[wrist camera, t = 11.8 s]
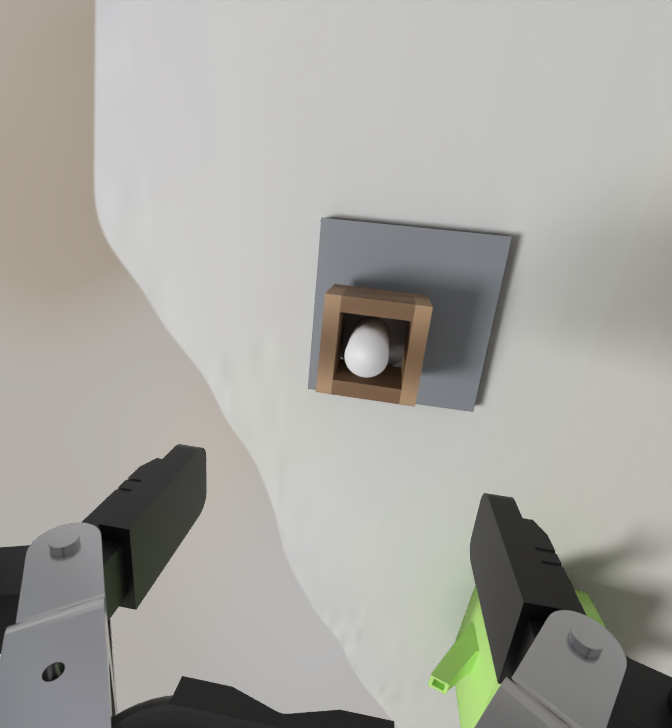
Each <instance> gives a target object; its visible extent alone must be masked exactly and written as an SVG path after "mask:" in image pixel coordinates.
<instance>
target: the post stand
mask: <svg viewBox="0 0 672 728" xmlns="http://www.w3.org/2000/svg"><path fill="white" fill-rule="evenodd" d="M511 239H512V237H510V236H500V235H490V234H480V233H470V232H460V231H450V230H440V229H430V228H420V227H410V226H400V225H390V224H380V223H370V222H360V221H350V220H340V219H330V218H321V230H320V243H319V255H318V268H317V281H316V293H315V306H314V319H313V331H312V344H311V357H310V369H309V382H308V389H313V390H316V384H317V373H318V362H319V352H320V341H321V330H322V320H323V309H324V299H325V293H326V292H327V291H328V290H329V289H330V288H331V287H332V286H333V285H334V284H341V285H349V286H357V287H365V288H373V289H381V290H389V291H397V292H406V293H414V294H422V295H427V296H428V298H429V300H430V302H431V304H432V306H433V309H432V315H431V320H430V326H429V331H428V337H427V342H426V348H425V354H424V359H423V365H422V370H421V376H420V381H419V387H418V392H417V398H416V404H420V405H428V406H435V407H442V408H449V409H456V410H463V411H470V412H473V410H474V406H475V401H476V397H477V392H478V388H479V383H480V379H481V374H482V370H483V365H484V361H485V356H486V352H487V347H488V343H489V338H490V334H491V329H492V325H493V320H494V316H495V311H496V306H497V302H498V297H499V293H500V288H501V284H502V279H503V275H504V270H505V266H506V261H507V257H508V252H509V248H510V243H511ZM407 325H408V321H406V320H398V319H390V318H382V317H375V316H367V315H359V314H352V313H346V317H345V326H344V335H343V344H342V353H341V359H344V360H345V362H346V365H347V367H348V368H349V370H350V371H351V372H353V373H354V374H356V375H358V376H360V377H366V378H367V377H373V376H376V375H378V374H380V373H381V372H382V371H383V370H384V369H385V367H386V366H395V367H401V362H402V356H403V350H404V344H405V337H406V331H407Z"/></svg>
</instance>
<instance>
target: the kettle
mask: <svg viewBox="0 0 672 728" xmlns="http://www.w3.org/2000/svg"><path fill="white" fill-rule="evenodd" d="M574 591H575V593H576V595H577V597H578V599H579V601H580V603H581V605H582V607H583V609H584V611H585V613H586V615H587V616H588V617H590V618H591V619H593V620H595V621H596V622H598V623H599V624H601V625H602V626H603V627H604V628H606V627H605V625H604V623H603V621H602V619H601V617H600V616H599V614H598V612H597V610H596V608H595V606H594V604H593V602H592V600H591V598H590V596H589V595H588V593H587V592H583V591H578V590H574ZM428 685H429V686H430V687H432V688H434V689H436V690H438V691H440V692H442V693H443V694H445V695H446V693H447V691H448V690H449V689H450V688H452V687H453V686H454V685H455V687H456V694H457V702H458V709H459V717H460V725H461V728H474V727H475V726H476V724H477V722H478V721H479V719H480V718H481V716H482V714H483V713H484V711H485V709H486V708H487V706H488V705H489V703H490V701H491V700H492V698H493V696H494V695H495V693H496V692H497V690H498V688H499V687H500V685H501V684H498V682H497V678H496V673H495V669H494V664H493V660H492V655H491V651H490V646H489V642H488V637H487V633H486V628H485V624H484V619H483V615H482V610H481V606H480V602H479V597H478V593H477V588H476V586H475V588H474V591H473V594H472V597H471V600H470V602H469V605H468V608H467V611H466V613H465V616H464V619H463V622H462V625H461V627H460V630H459V633H458V636H457V639H456V641H455V643H454V645H453V646H452V647H451V649H450V650H449V651H448V652H447V654H446V655H445V656H444V658H443V659H442V660H441V662H440V663H439V664H438V665H437V667H436V668H435V669H434V671H433V672H432V674H431V677H430V680H429V683H428Z"/></svg>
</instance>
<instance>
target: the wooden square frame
mask: <svg viewBox="0 0 672 728" xmlns="http://www.w3.org/2000/svg"><path fill="white" fill-rule="evenodd" d="M432 309H433V306H432V304H431V302H430V300H429V298H428V296H427V295H422V294H414V293H406V292H397V291H389V290H381V289H373V288H365V287H357V286H349V285H341V284H334V285H333V286H332V287H331V288H330V289H329V290H328V291H327V292H326V293H325V299H324V309H323V320H322V330H321V341H320V352H319V362H318V373H317V384H316V392H320V393H327V394H334V395H340V396H347V397H354V398H361V399H368V400H374V401H381V402H388V403H395V404H401V405H408V406H415V404H416V398H417V392H418V387H419V381H420V376H421V370H422V365H423V359H424V354H425V348H426V342H427V337H428V331H429V326H430V320H431V315H432ZM346 313H352V314H359V315H367V316H375V317H382V318H390V319H398V320H406V321H408V325H407V331H406V337H405V344H404V350H403V356H402V362H401V367H395V366H386V367H385V369H384V370H383V371H382V372H381V373H380V374H378V375H376V376H373V377H367V378H366V377H360V376H358V375H356V374H354V373H353V372H351V371H350V370H349V368H348V367H347V365H346V362H345V360H344V359H341V353H342V344H343V335H344V326H345V317H346Z"/></svg>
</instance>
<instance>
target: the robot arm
mask: <svg viewBox="0 0 672 728" xmlns="http://www.w3.org/2000/svg"><path fill="white" fill-rule="evenodd" d="M205 499H206V452H205V449H204V448H200V447H194V446H188V445H181V444H178V445H176V446H175V447H174V448H173V449H172V450H171V451H170V452H169V453H168V454H167V455H166V456H165V457H164V458H163V459H159V458H156V459H154V460H152V461H150V462H148V463H146V464H145V465H142V466H140V467H139V468H138V469H137V470H136V471H135V472H134V473H133V474H132V475H131V476H130V477H129V478H128V480H125V481H124V482H123V483H122V484H121V485H120V486H119V487H118V490H115V491H114V492H113V493H112V494H111V495H110V496H109V497H107V498H106V499H105V500H104V501H103V502H102V503H101V504H100V505H99V506H98V507H97V508H96V509H95V510H94V511H93V512H92V513H91V514H90V515H89V516H88V517H87V518H86V519H84V520H83V521H82V522H81V523H70V524H65V525H61V526H58V527H56V528H53V529H51V530H49V531H47V532H45V533H43V534H42V535H41V536H39V537H38V538H37V539H36V540H34V541H33V542H32V544H31V545H28V546H16V547H1V548H0V654H1V657H0V728H394V721H391V720H385V719H381V718H376V717H372V716H367V715H362V714H358V713H353V712H348V711H343V710H331V711H318V712H306V713H294V714H282V713H279V712H277V711H275V710H273V709H271V708H269V707H268V706H266V705H264V704H262V703H260V702H259V701H257V700H255V699H253V698H252V697H250V696H248V695H246V694H244V693H243V692H241V691H239V690H237V689H235V688H234V687H230V686H226V685H221V684H217V683H212V682H208V681H203V680H198V679H193V678H188V677H184V676H182V678H181V680H180V682H179V684H178V686H177V688H176V690H175V692H174V695H173V696H164V697H160V698H155V699H151V700H148V701H145V702H142V703H139V704H137V705H134V706H132V707H130V708H128V709H126V710H124V711H122V712H121V713H119V714H118V711H117V701H116V687H115V673H114V659H113V645H112V631H111V620H110V618H111V616H112V615H113V613H114V612H115V611H116V609H117V608H118V607H119V606H121V607H126V608H130V609H137V608H138V606H139V605H140V603H141V602H142V600H143V599H144V597H145V596H146V594H147V593H148V591H149V590H150V588H151V587H152V585H153V584H154V582H155V581H156V579H157V578H158V576H159V575H160V573H161V572H162V570H163V569H164V567H165V566H166V564H167V563H168V561H169V560H170V558H171V557H172V556H173V554H174V553H175V551H176V550H177V548H178V547H179V545H180V544H181V542H182V541H183V539H184V538H185V536H186V535H187V533H188V532H189V530H190V529H191V527H192V526H193V524H194V522H195V521H196V520H197V518H198V517H199V515H200V514H201V511H202V509H203V507H204V503H205ZM470 560H471V566H472V570H473V575H474V579H475V584H476V588H477V593H478V597H479V602H480V606H481V610H482V615H483V619H484V624H485V628H486V633H487V637H488V642H489V646H490V651H491V655H492V660H493V664H494V669H495V673H496V678H497V682H498V684H501V685H500V687H499V688H498V690H497V692H496V693H495V695H494V696H493V698H492V700H491V701H490V703H489V705H488V706H487V708H486V709H485V711H484V713H483V714H482V716H481V718H480V719H479V721H478V722H477V724H476V726H475V727H474V728H672V677H670V676H667V675H665V674H663V673H661V672H658V671H656V670H654V669H652V668H649V667H647V666H645V665H643V664H640V663H638V662H636V661H634V660H632V659H630V658H628V657H627V656H625V653H624V651H623V649H622V647H621V645H620V644H619V642H618V641H617V640H616V639H615V637H614V636H613V635H612V634H611V633H610V632H609V631H608V630H607V629H606V628H604V627H603V626H602V625H601V624H599V623H598V622H596V621H595V620H593V619H591V618H590V617H588V616H587V615H586V613H585V611H584V609H583V607H582V605H581V603H580V601H579V599H578V597H577V595H576V593H575V591H574V588H573V586H572V584H571V582H570V580H569V578H568V576H567V574H566V572H565V570H564V568H563V567H561V562H560V560H559V558H558V556H557V554H555V550H554V548H553V545H552V543H551V541H550V539H549V537H548V535H547V534H546V533H545V532H544V531H543V530H542V529H541V528H540V527H539V526H538V525H537V524H536V523H535V522H534V521H533V520H530V519H524V518H522V516H521V514H520V511H519V509H518V507H517V504H516V502H515V500H514V499H513V498H512V497H506V496H499V495H493V494H487V493H484V494H483V495H482V498H481V501H480V505H479V509H478V513H477V517H476V521H475V525H474V529H473V533H472V537H471V543H470Z"/></svg>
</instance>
